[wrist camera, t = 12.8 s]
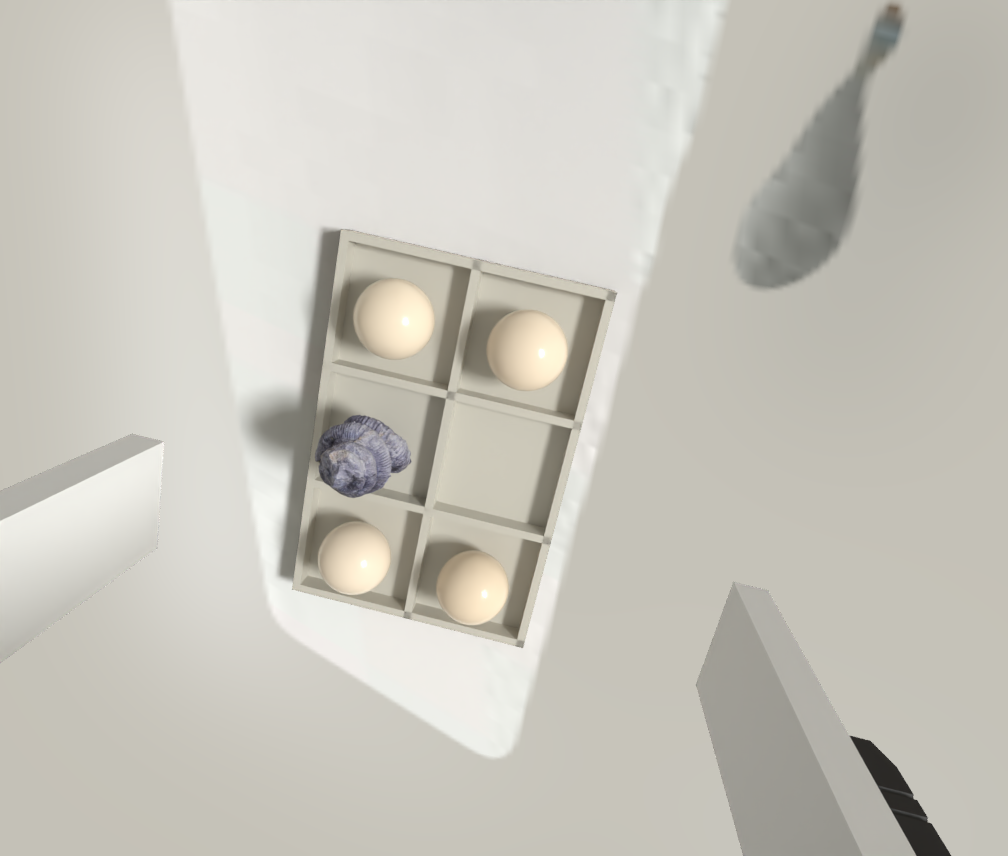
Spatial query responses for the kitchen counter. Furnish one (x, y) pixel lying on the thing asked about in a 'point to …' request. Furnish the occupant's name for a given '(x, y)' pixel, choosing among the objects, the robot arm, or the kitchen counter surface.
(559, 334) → the egg near right
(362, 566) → the egg far left
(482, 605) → the egg far right
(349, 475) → the seashell
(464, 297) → the egg tray
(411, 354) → the egg near left
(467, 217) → the kitchen counter surface
